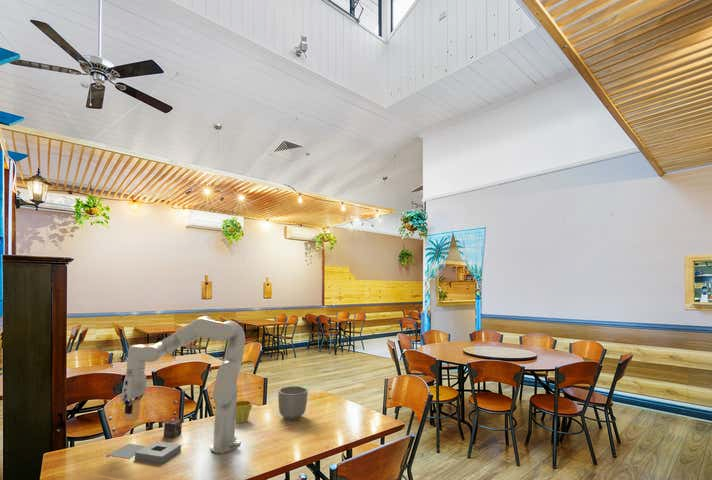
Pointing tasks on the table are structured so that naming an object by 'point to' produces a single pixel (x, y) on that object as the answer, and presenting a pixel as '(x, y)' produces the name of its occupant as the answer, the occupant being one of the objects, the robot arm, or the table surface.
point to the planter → (292, 402)
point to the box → (172, 428)
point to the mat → (126, 451)
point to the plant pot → (242, 411)
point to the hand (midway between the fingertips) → (131, 411)
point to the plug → (133, 411)
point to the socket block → (158, 452)
